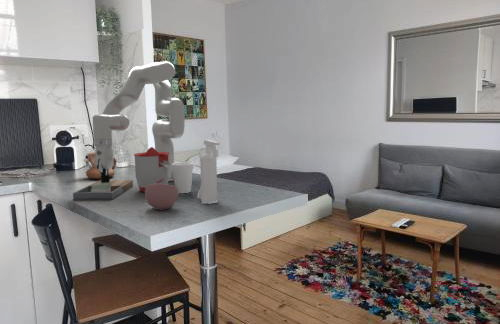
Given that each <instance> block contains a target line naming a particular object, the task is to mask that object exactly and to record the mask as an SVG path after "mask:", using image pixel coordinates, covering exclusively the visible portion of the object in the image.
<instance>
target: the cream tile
mask: <svg viewBox="0 0 500 324" xmlns="http://www.w3.org/2000/svg"><path fill="white" fill-rule="evenodd" d="M91 192H111V187H110V188H108V189H106V190H91Z"/></svg>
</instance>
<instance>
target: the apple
mask: <svg viewBox="0 0 500 324" xmlns="http://www.w3.org/2000/svg"><path fill="white" fill-rule="evenodd" d="M161 181H163V178H161V179H159V180H157V181H156V184H151V185H148V186H146V189H145V192H144V197H145V200H146V202H147V203H148V205H149V206H150V207H152V208H153V209H156V210H159V209H164V210H168V209H169V208H172V207H173V206H174V205H175V203H176V202H177V200H178V199H179V198H178V197H179V194H178V188H177V187H175V185H172V184H169V183H168V185H167V184H159V183H160V182H161Z"/></svg>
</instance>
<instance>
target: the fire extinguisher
mask: <svg viewBox="0 0 500 324" xmlns="http://www.w3.org/2000/svg"><path fill="white" fill-rule="evenodd" d="M204 145H205V146H204ZM216 146H221V142H219V141H215V140H211V139H204V140H203V146H202V147H201V148H200V149H199V160H200V161H199V162H200V164H199V166H200V188H199V190H198V193H197V197H196V198H197V199H200V201H203V202H212V201H216V200H217V201H218V178H217V177H218V176H217V175H218V172H217V171H218V170H217V169H218V166H217V165H218V164H217V158H218V157H219V152H218V149H217V148H216ZM203 150H204V153H203Z"/></svg>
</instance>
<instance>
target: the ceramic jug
mask: <svg viewBox="0 0 500 324" xmlns="http://www.w3.org/2000/svg"><path fill="white" fill-rule="evenodd" d="M86 156H87V158H85V159H83V162H85V163H86V162H89V164H90V165H91V167H90V168H88V169H87V170H86V171H85V175H86V177H87V178H89V179H90V180H91V179H92V180H101V175H100V172H99V169H97V168H96V164H95V151H90V152H87V155H86ZM116 165H117V159H116V157H114V166H113V167H111V168H110V170H109V179H110V178H112V177H113V176H114V175H115V169H116Z"/></svg>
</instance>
